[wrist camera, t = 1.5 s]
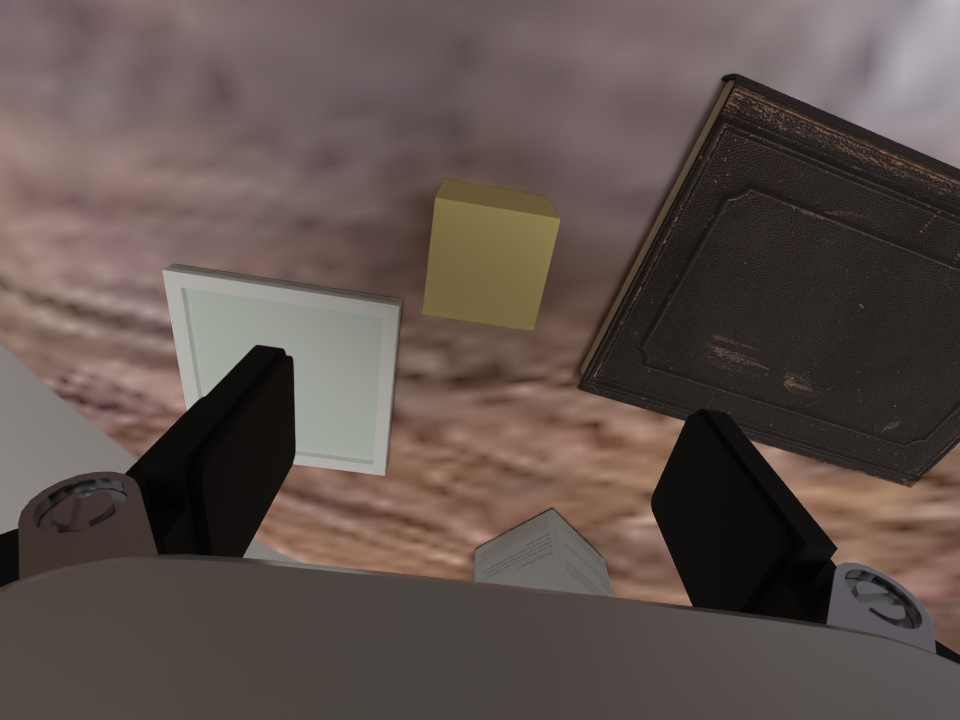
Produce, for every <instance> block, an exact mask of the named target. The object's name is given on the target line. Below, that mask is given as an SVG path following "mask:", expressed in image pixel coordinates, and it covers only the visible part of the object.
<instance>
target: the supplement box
mask: <svg viewBox="0 0 960 720" xmlns="http://www.w3.org/2000/svg"><path fill="white" fill-rule="evenodd" d="M474 582H483V583H492V584H501V585H510V586H519V587H528V588H537V589H546V590H554V591H563V592H572V593H581V594H590V595H598V596H607V597H614V596H613V592H612V588H611V584H610V580H609V576H608V572H607V569H606V565H605V561H604V559H603V558H602V557H601V556H600V555H599V554H598V553H597V552H596V551H595V550H594V549H593V548H592V547H591V546H590V545H589V544H588V543H587V542H586V541H585V540H584V539H583V538H582V537H581V536H580V535H579V534H578V533H577V532H576V531H575V530H574V529H573V528H572V527H571V526H570V525H569V524H568V523H567V522H566V521H564V520H563V519H562V518H561V517H560V516H559V515H558V514H557V513H556V512H555V511H554V510H553V509H551V510H549V511H547V512H545V513H543V514H541V515H539V516H537V517H535V518H533V519H531V520H530V521H528V522H526V523H524V524H522V525H520V526H518V527H516V528H514V529H512V530H510V531H508V532H506V533H505V534H503V535H501V536H499V537H497V538H495V539H493V540H492V541H490V542H488V543H486V544H484V545H482V546H481V547H479V548H477V549H476V550H475V567H474Z"/></svg>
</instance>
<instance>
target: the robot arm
mask: <svg viewBox="0 0 960 720" xmlns="http://www.w3.org/2000/svg"><path fill="white" fill-rule="evenodd" d="M295 453H296V435H295V395H294V361H293V357H292V356H289V355H286V352H285V350H284V349H283V348H278V347H271V346H264V345H255V346H254V347H253V348H252V349H251V350H250V351H249V352H248V353H247V354H246V355H245V356H244V357H243V358H242V359H241V360H240V361H239V362H238V363H237V364H236V365H235V366H234V367H233V369H232V370H231V371H230V372H229V373H228V374H227V375H226V376H225V377H224V378H223V379H222V380H221V381H220V382H219V383H218V384H217V385H216V386H215V387H214V388H213V389H212V390H211V391H210V392H209V393H208V394H207V395H206V396H204V397H201V398H200V399H199V400H197V401H196V402H195V403H194V404H193V405H192V406H191V407H190V408H189V409H188V411H187V412H186V413H185V414H184V415H183V416H182V417H181V418H180V419H179V420H178V421H177V422H176V423H175V424H174V425H173V426H172V427H171V428H170V429H169V430H168V431H167V432H166V433H165V434H164V435H163V436H162V437H161V438H160V439H159V440H158V441H157V442H156V443H155V444H154V445H153V446H152V447H151V448H150V449H149V450H148V451H147V452H146V453H145V454H144V455H143V456H142V457H141V458H140V459H139V460H138V461H137V462H136V463H135V464H134V465H133V466H132V467H131V468H130V469H129V470H128V471H127V472H126V473H125V474H121V473H116V472H93V473H88V474H82V475H77V476H75V477H72V478H69V479H66V480H63V481H60V482H58V483H56V484H54V485H52V486H51V487H49V488H47V489H45V490H43V491H42V492H41V493H39V494H38V495H37V496H35V497H34V498H33V499H31V500H30V501H29V503H28V504H27V505H26V506H25V508H24V509H23V510H22V512H21V515H20V518H19V522H18V529H15V530H12V531H9V532H6V533H4V534H0V720H960V655H959V654H957V653H955V652H954V651H952V650H951V649H949V648H947V647H946V646H944V645H942V644H941V643H939V642H938V641H936V640H935V635H934V626H933V623H932V620H931V617H930V615H929V613H928V612H927V611H926V609H925V608H924V606H923V605H922V604H921V603H920V602H919V601H918V600H917V598H916V597H915V596H914V595H913V594H912V593H911V592H909V591H908V590H907V589H906V588H904V587H903V586H902V585H901V584H899V583H898V582H897V581H895V580H893V579H892V578H890V577H888V576H887V575H885V574H884V573H882V572H880V571H877V570H875V569H873V568H871V567H869V566H865V565H862V564H858V563H848V562H845V563H843V564H840V565H838V566H837V567H836V565H835V564H834V563H833V562H832V560H831V559H830V558H831V557H832V555H833V554H834V553H835V551H836V550H837V549H838V548H837V547H836V546H835V545H834V543H833V542H832V541H831V540H830V539H829V537H828V536H827V535H826V534H825V532H824V531H823V530H822V529H821V527H820V526H819V525H818V524H817V523H816V521H815V520H814V519H813V518H812V516H811V515H810V514H809V513H808V512H807V510H806V509H805V508H804V507H803V505H802V504H801V503H800V502H799V500H798V499H797V498H796V497H795V496H794V494H793V493H792V492H791V491H790V489H789V488H788V487H787V486H786V485H785V483H784V482H783V481H782V480H781V478H780V477H779V476H778V475H777V473H776V472H775V471H774V470H773V469H772V467H771V466H770V465H769V464H768V462H767V461H766V460H765V459H764V458H763V456H762V455H761V454H760V453H759V451H758V450H757V449H756V448H755V446H754V445H753V444H752V443H751V442H750V440H749V439H748V438H747V437H746V435H745V434H744V433H743V432H742V431H741V429H740V428H739V427H738V426H737V424H736V423H735V422H734V421H733V419H732V418H731V417H730V416H729V415H728V414H727V413H726V412H721V411H714V410H707V409H699V410H698V411H696V413H695V414H690V415H689V416H688V418H687V420H686V422H685V424H684V426H683V428H682V431H681V433H680V435H679V437H678V440H677V442H676V444H675V446H674V449H673V451H672V453H671V455H670V458H669V460H668V462H667V464H666V466H665V469H664V471H663V473H662V475H661V478H660V480H659V482H658V484H657V487H656V489H655V491H654V493H653V496H652V500H651V507H652V512H653V514H654V516H655V519H656V521H657V523H658V526H659V528H660V531H661V533H662V535H663V538H664V540H665V542H666V545H667V547H668V549H669V552H670V554H671V556H672V559H673V561H674V563H675V566H676V568H677V570H678V573H679V575H680V577H681V580H682V582H683V584H684V587H685V589H686V592H687V594H688V596H689V599H690V601H691V603H692V606H693V607H692V606H683V605H675V604H666V603H658V602H649V601H641V600H633V599H624V598H616V597H607V596H598V595H590V594H581V593H572V592H563V591H554V590H546V589H537V588H528V587H519V586H510V585H501V584H492V583H483V582H474V581H465V580H456V579H447V578H437V577H428V576H419V575H409V574H400V573H391V572H381V571H372V570H362V569H353V568H344V567H334V566H325V565H315V564H304V563H294V562H284V561H274V560H263V559H250V558H243V556H244V554H245V552H246V550H247V548H248V547H249V545H250V543H251V541H252V539H253V537H254V535H255V534H256V532H257V530H258V528H259V526H260V524H261V522H262V521H263V519H264V517H265V515H266V513H267V511H268V509H269V508H270V506H271V504H272V502H273V500H274V498H275V496H276V495H277V493H278V491H279V489H280V487H281V485H282V483H283V482H284V480H285V478H286V476H287V474H288V472H289V470H290V469H291V467H292V465H293V462H294V458H295Z"/></svg>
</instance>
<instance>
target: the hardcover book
mask: <svg viewBox="0 0 960 720" xmlns="http://www.w3.org/2000/svg"><path fill="white" fill-rule="evenodd" d="M722 80H723V81H725V82H727V83H726V85H725V87H724V89H723V91H722V93H721V95H720V97H719V99H718V101H717V102H716V104H715V106H714V108H713V110H712V112H711V114H710V116H709V118H708V120H707V122H706V124H705V126H704V128H703V130H702V132H701V134H700V136H699V138H698V140H697V142H696V143H695V145H694V147H693V149H692V151H691V153H690V155H689V157H688V159H687V161H686V163H685V165H684V167H683V169H682V171H681V173H680V175H679V177H678V179H677V181H676V183H675V185H674V186H673V188H672V190H671V192H670V194H669V196H668V198H667V200H666V202H665V204H664V206H663V208H662V210H661V212H660V214H659V216H658V218H657V220H656V222H655V224H654V226H653V228H652V230H651V231H650V233H649V235H648V237H647V239H646V241H645V243H644V245H643V247H642V249H641V251H640V253H639V255H638V257H637V259H636V261H635V263H634V265H633V267H632V269H631V271H630V273H629V275H628V276H627V278H626V280H625V282H624V284H623V286H622V288H621V290H620V292H619V294H618V296H617V298H616V300H615V302H614V304H613V306H612V308H611V310H610V312H609V314H608V316H607V318H606V319H605V321H604V323H603V325H602V327H601V329H600V331H599V333H598V335H597V337H596V339H595V341H594V343H593V345H592V347H591V349H590V351H589V353H588V355H587V357H586V359H585V361H584V363H583V364H582V366H581V368H580V370H581V371H580V372H581V374H582V378H581V380H580V382H579V384H578V386H577V388H578V389H579V390H582V391H585V392H589V393H592V394H596V395H599V396H602V397H606V398H609V399H613V400H616V401H619V402H623V403H626V404H629V405H633V406H636V407H640V408H643V409H646V410H650V411H653V412H657V413H660V414H663V415H667V416H670V417H673V418H677V419H680V420H684V421H686V420H687V418H688V416H689V415H690V414H695V413H696V411H698V410H699V409H707V410H714V411H721V412H726V413H727V414H728V415H729V416H730V417H731V418H732V419H733V421H734V422H735V423H736V424H737V426H738V427H739V428H740V429H741V431H742V432H743V433H744V434H745V435H746V437H747V438H748V439H749V440H751V441H755V442H758V443H761V444H765V445H768V446H771V447H775V448H778V449H782V450H785V451H788V452H792V453H795V454H799V455H802V456H805V457H809V458H812V459H815V460H819V461H822V462H826V463H829V464H832V465H836V466H839V467H843V468H846V469H849V470H853V471H856V472H859V473H863V474H866V475H870V476H873V477H876V478H880V479H883V480H886V481H890V482H893V483H897V484H900V485H903V486H907V487H910V488H911V487H912V486H913V485H915V484H916V483H917V482H918V481H919V480H920V479H921V478H922V477H923V476H924V475H925V474H926V473H927V472H928V471H929V470H931V469H932V468H933V467H934V466H935V465H936V464H937V463H938V462H939V461H940V460H941V459H942V458H943V457H944V456H945V455H946V454H948V453H949V452H950V451H951V450H952V449H953V448H954V447H955V446H956V445H957V444H958V443H959V442H960V169H958V168H955V167H953V166H951V165H948V164H946V163H944V162H941V161H939V160H937V159H934V158H932V157H930V156H927V155H925V154H923V153H921V152H918V151H916V150H914V149H911V148H909V147H907V146H904V145H902V144H900V143H897V142H895V141H893V140H890V139H888V138H886V137H883V136H881V135H879V134H876V133H874V132H872V131H869V130H867V129H865V128H862V127H860V126H858V125H855V124H853V123H851V122H848V121H846V120H844V119H841V118H839V117H837V116H834V115H832V114H830V113H827V112H825V111H823V110H820V109H818V108H816V107H813V106H811V105H809V104H807V103H804V102H802V101H800V100H797V99H795V98H793V97H790V96H788V95H786V94H783V93H781V92H779V91H776V90H774V89H772V88H769V87H767V86H765V85H762V84H760V83H758V82H755V81H753V80H751V79H748V78H746V77H744V76H741V75H739V74H729V75H726V76H724V77H723V78H722Z"/></svg>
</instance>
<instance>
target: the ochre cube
mask: <svg viewBox="0 0 960 720" xmlns="http://www.w3.org/2000/svg"><path fill="white" fill-rule="evenodd" d="M560 221H561V218H560V217H559V215H558V213H557V212H556V210H555V209H554V207H553V205H552V204H551V202H550V201H549V199H548V197H547V196H544V195H538V194H532V193H527V192H521V191H515V190H509V189H504V188H498V187H492V186H486V185H481V184H475V183H469V182H463V181H458V180H452V179H446V178H444V181H443V183H442V185H441V187H440V189H439V191H438V193H437V195H436V197H435V204H434V213H433V222H432V231H431V240H430V249H429V258H428V267H427V275H426V284H425V293H424V302H423V311H422V315H429V316H436V317H442V318H449V319H455V320H462V321H468V322H475V323H482V324H488V325H495V326H501V327H508V328H514V329H521V330H528V331H534V327H535V323H536V319H537V315H538V311H539V307H540V303H541V299H542V295H543V291H544V286H545V282H546V278H547V274H548V270H549V266H550V262H551V258H552V254H553V249H554V245H555V241H556V237H557V233H558V229H559V225H560Z"/></svg>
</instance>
